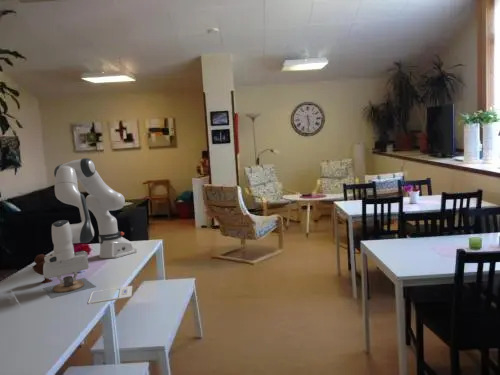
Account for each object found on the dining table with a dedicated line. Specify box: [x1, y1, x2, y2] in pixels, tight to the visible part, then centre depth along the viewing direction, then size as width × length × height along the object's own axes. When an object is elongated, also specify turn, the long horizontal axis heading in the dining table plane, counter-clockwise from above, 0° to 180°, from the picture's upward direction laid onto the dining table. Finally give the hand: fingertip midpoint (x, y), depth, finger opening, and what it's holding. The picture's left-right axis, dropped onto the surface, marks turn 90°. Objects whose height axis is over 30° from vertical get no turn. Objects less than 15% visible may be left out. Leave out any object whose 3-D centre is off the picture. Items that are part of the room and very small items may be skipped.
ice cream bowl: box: [32, 253, 53, 284], centre depth 222 cm, size 11×11×15 cm
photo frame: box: [87, 285, 133, 305], centre depth 196 cm, size 15×1×18 cm
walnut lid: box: [53, 275, 84, 293], centre depth 210 cm, size 14×14×5 cm
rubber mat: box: [42, 277, 97, 299], centre depth 210 cm, size 20×20×1 cm
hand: (68, 282), depth 210 cm, fingers closed on walnut lid, 4 cm apart
